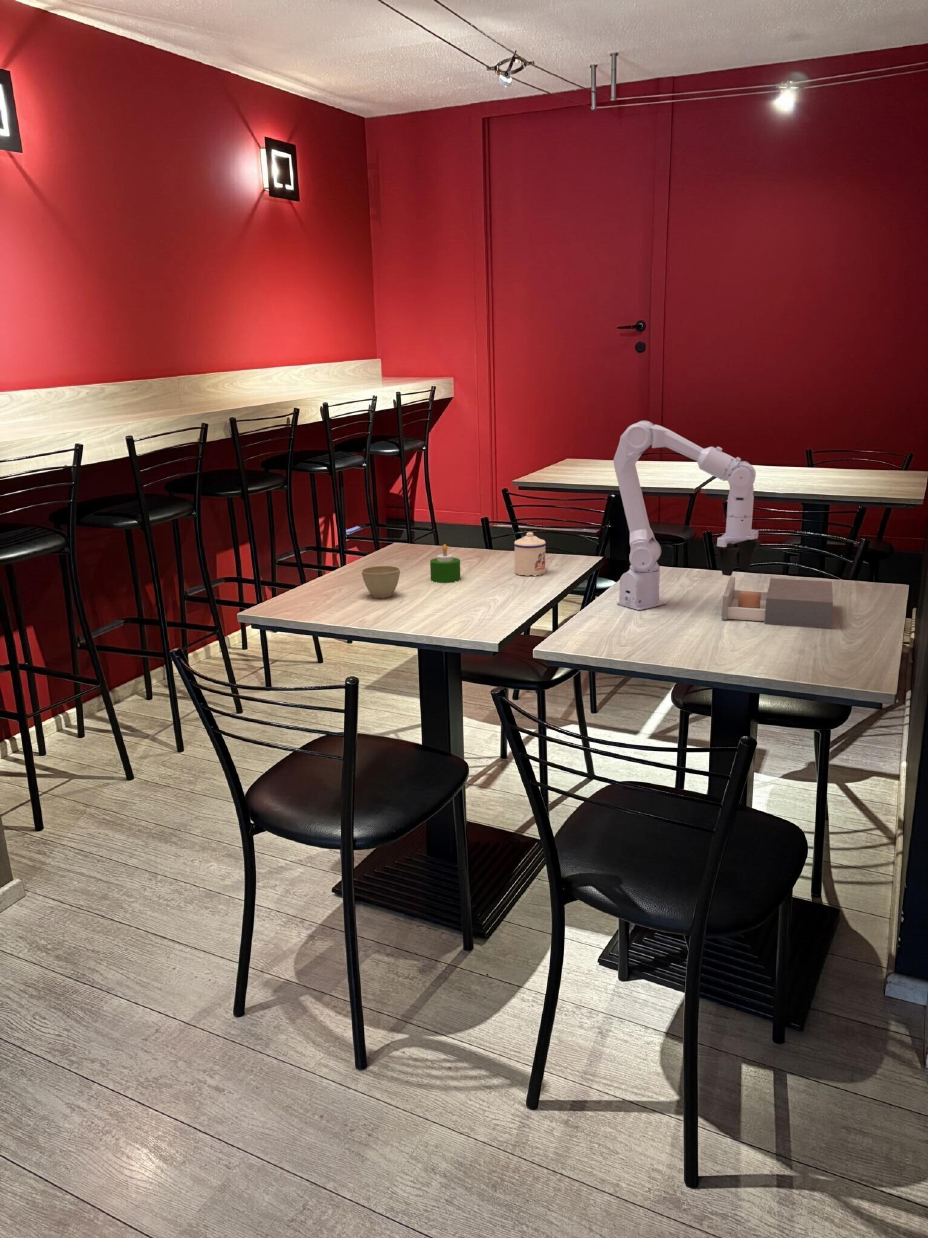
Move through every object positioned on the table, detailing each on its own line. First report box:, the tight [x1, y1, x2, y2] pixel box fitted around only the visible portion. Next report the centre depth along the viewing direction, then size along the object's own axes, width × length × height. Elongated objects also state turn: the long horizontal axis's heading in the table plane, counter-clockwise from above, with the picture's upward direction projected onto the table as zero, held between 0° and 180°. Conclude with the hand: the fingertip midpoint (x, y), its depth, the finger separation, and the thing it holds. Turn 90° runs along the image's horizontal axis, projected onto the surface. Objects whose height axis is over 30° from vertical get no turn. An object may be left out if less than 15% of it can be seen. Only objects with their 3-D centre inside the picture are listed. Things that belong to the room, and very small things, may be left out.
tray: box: [721, 576, 768, 622], centre depth 222 cm, size 12×20×6 cm, turn 160°
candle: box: [429, 543, 461, 584], centre depth 260 cm, size 8×8×10 cm
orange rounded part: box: [738, 590, 761, 609], centre depth 222 cm, size 5×5×4 cm
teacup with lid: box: [513, 531, 547, 577], centre depth 266 cm, size 12×9×12 cm
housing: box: [764, 577, 834, 629], centre depth 218 cm, size 14×20×6 cm
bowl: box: [361, 565, 401, 599], centre depth 244 cm, size 10×10×7 cm
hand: (735, 572), depth 222 cm, fingers open, 7 cm apart
